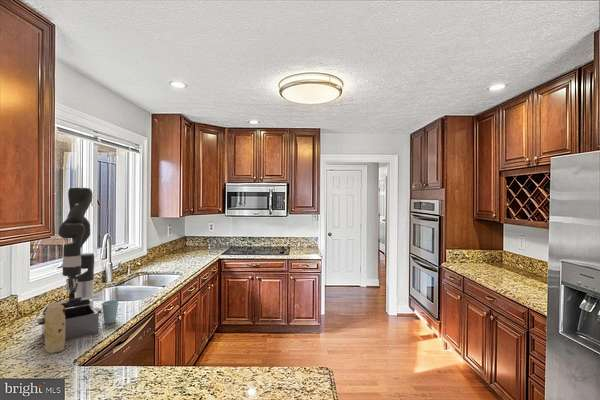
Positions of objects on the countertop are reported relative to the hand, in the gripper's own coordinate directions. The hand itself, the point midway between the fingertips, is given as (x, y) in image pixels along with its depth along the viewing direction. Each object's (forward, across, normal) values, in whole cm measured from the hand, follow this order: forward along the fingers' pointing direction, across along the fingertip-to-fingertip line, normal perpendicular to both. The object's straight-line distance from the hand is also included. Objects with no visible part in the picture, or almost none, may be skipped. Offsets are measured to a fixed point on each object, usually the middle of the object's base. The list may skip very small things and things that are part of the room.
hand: (71, 300), depth 169 cm
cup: (+17, -8, +19) cm, 26 cm away
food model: (+17, +16, -9) cm, 24 cm away
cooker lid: (+2, -2, 0) cm, 3 cm away
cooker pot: (+16, -2, 0) cm, 17 cm away
